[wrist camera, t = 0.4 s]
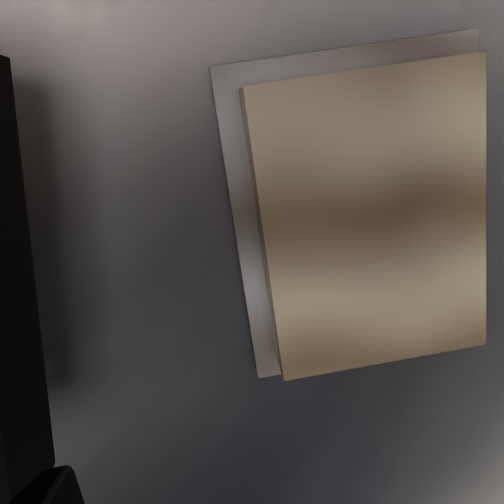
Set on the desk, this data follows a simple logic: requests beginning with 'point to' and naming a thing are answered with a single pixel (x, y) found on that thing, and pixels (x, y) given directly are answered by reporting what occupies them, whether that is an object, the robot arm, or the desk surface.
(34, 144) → the desk surface
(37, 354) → the security camera
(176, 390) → the desk surface
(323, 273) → the stand
